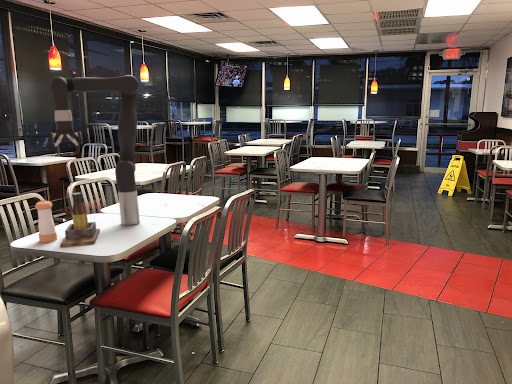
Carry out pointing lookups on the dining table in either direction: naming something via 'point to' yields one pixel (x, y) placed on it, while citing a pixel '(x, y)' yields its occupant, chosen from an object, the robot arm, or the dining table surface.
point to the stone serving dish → (80, 235)
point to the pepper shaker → (46, 222)
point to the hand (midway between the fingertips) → (67, 153)
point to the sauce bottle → (79, 212)
